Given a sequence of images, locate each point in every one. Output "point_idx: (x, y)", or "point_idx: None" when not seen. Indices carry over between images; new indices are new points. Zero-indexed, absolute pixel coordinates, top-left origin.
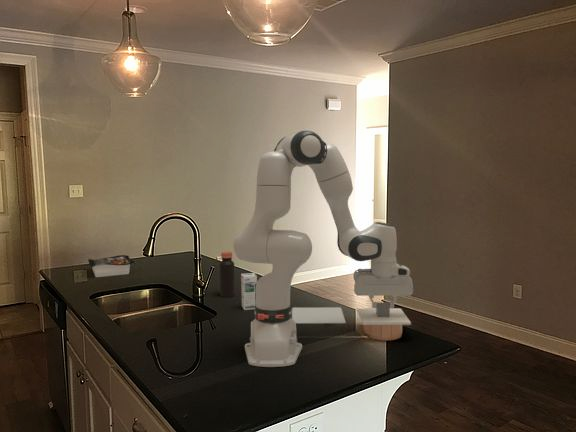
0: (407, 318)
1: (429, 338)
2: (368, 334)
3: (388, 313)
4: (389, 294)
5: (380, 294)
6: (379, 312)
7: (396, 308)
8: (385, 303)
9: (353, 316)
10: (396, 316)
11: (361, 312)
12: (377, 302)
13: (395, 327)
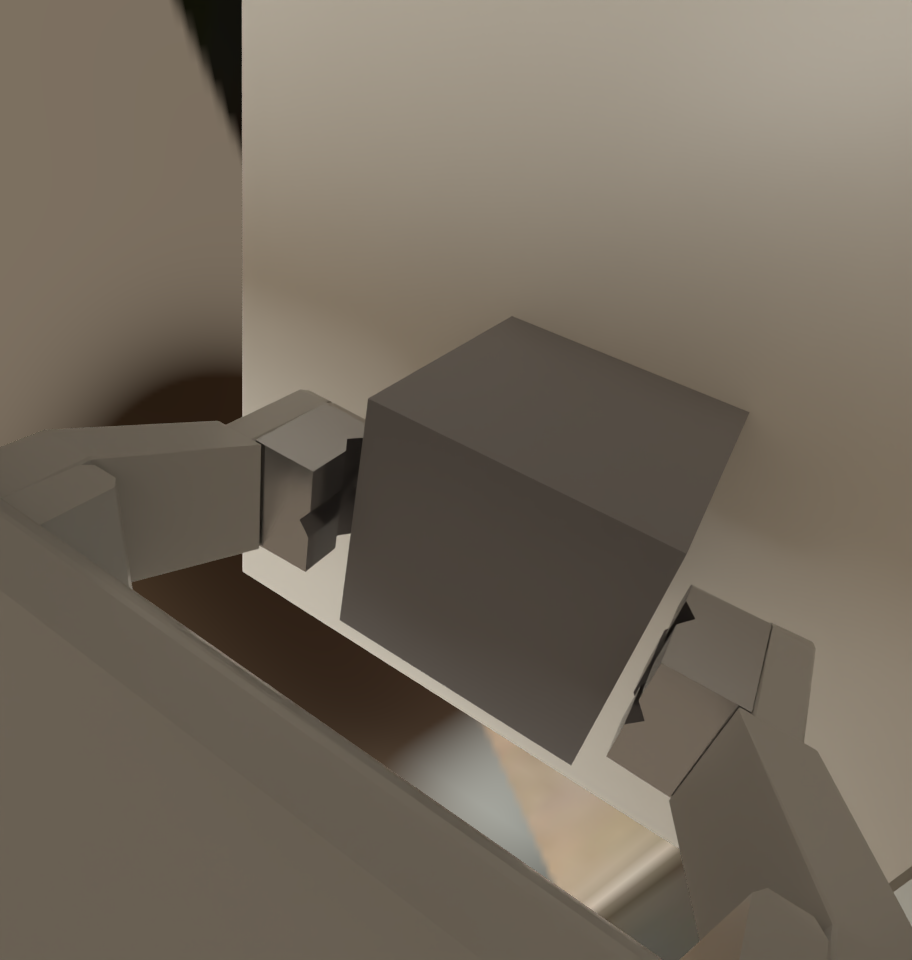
0: (250, 101)
1: (229, 5)
2: None
3: (498, 343)
4: (65, 591)
5: (405, 840)
6: (693, 438)
7: (284, 594)
8: (401, 590)
9: (670, 883)
10: (386, 288)
11: (904, 789)
12: (542, 744)
13: None
